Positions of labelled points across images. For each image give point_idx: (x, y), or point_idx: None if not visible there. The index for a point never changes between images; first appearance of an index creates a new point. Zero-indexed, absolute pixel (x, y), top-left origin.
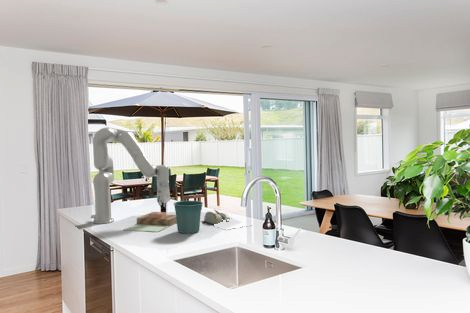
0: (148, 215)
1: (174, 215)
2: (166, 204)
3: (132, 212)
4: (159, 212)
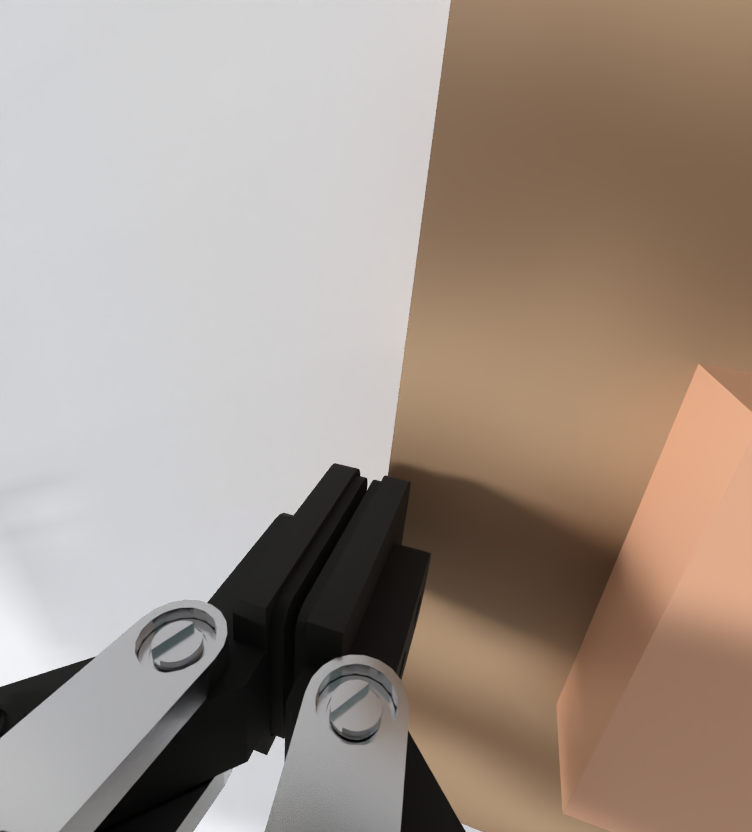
0: (543, 783)
1: (571, 59)
2: (92, 666)
3: None
4: (734, 672)
